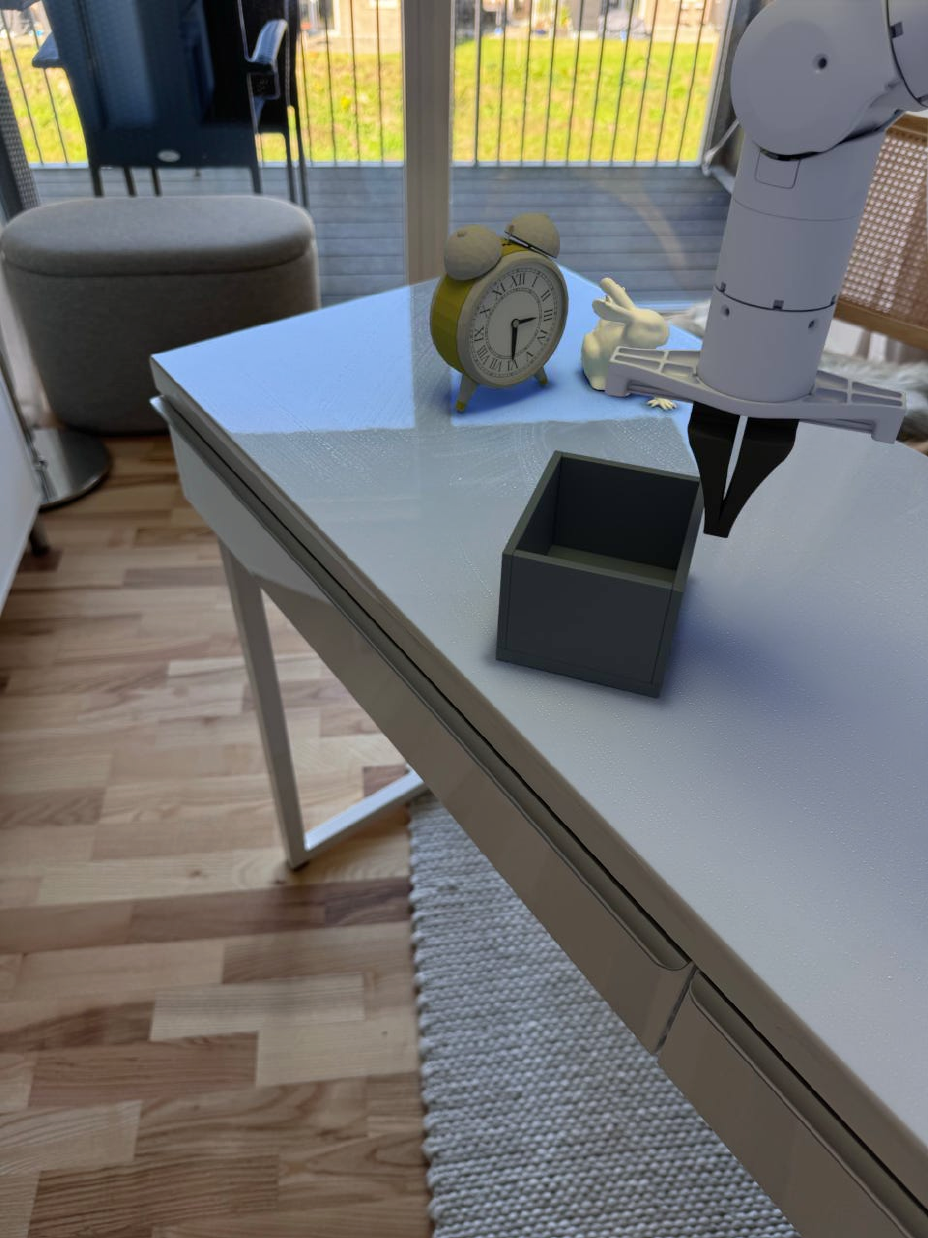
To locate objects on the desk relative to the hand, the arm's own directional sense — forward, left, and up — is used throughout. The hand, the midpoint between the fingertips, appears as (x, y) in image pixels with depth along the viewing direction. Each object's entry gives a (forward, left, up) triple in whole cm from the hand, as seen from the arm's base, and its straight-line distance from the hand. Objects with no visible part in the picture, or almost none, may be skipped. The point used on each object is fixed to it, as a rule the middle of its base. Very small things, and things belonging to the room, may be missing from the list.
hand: (717, 526), depth 52 cm
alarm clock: (+22, -28, -9) cm, 37 cm away
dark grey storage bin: (+1, 0, -4) cm, 5 cm away
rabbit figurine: (+12, -33, -9) cm, 36 cm away
